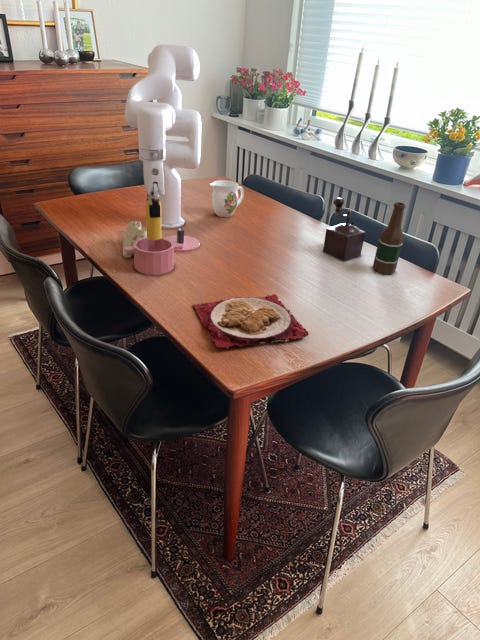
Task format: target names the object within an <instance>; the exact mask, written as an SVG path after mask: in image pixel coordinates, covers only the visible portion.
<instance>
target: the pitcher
mask: <svg viewBox="0 0 480 640" xmlns="http://www.w3.org/2000/svg"><path fill="white" fill-rule="evenodd" d="M209 186H210V187H212V188H213V190H212V194H211V205H212V208H213V211H214V214H215V215H216V216H218V217H221V218H230V217H232V216H233V215H234V214H235V212H236V210H237V207H238V206H239V205H240V204H241V203H242V202H243V199H244V196H245V191H244V188H243V187H242V186H240V185H239V183H238V182H236V181H233V180H230V179H229V180H228V179H219V180H214V181H213V182H211V183H209ZM238 191H240V197H239V192H238Z"/></svg>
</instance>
